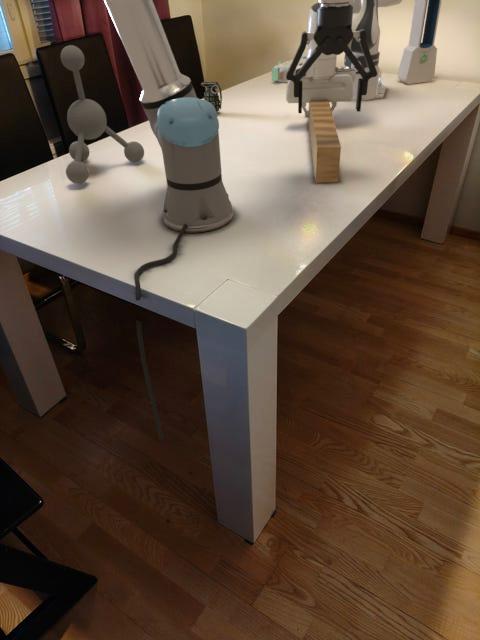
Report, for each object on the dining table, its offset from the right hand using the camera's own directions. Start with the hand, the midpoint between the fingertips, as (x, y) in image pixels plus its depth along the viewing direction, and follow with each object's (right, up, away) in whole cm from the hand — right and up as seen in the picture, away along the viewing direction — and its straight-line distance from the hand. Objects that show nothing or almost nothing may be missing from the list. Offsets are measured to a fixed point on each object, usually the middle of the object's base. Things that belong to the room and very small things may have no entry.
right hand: (318, 117), depth 152 cm
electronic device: (+46, +32, +44) cm, 71 cm away
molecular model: (-61, -21, -17) cm, 67 cm away
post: (-1, -14, -13) cm, 19 cm away
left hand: (-3, -14, -36) cm, 39 cm away
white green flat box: (+1, +41, +58) cm, 70 cm away
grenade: (-34, +10, +21) cm, 41 cm away
